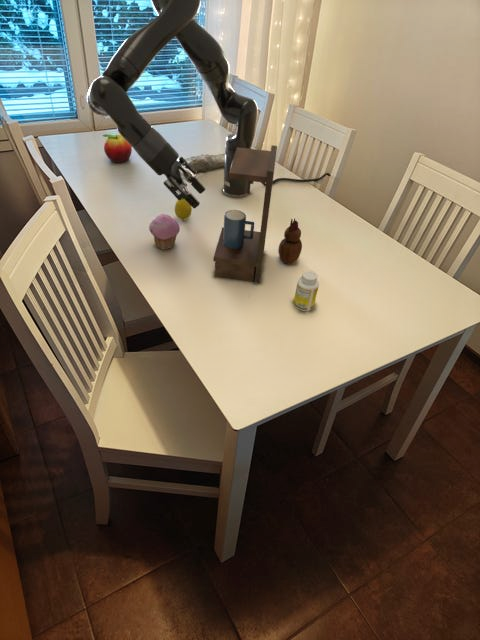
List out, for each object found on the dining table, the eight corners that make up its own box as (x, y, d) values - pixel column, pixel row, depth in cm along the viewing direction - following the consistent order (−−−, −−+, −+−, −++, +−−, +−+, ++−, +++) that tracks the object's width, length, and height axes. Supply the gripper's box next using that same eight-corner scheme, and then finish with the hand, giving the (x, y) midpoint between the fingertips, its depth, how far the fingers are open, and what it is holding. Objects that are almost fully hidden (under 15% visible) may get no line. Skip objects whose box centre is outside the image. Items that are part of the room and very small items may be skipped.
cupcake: (168, 235, 140) (167, 207, 133) (185, 247, 135) (185, 218, 129) (145, 245, 135) (142, 216, 128) (162, 257, 130) (160, 228, 124)
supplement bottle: (309, 297, 122) (316, 267, 115) (316, 310, 118) (324, 280, 111) (290, 299, 120) (296, 269, 113) (297, 313, 116) (303, 282, 109)
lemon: (188, 225, 145) (188, 203, 140) (172, 222, 146) (171, 200, 140) (193, 217, 149) (193, 195, 144) (178, 214, 150) (177, 192, 144)
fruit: (129, 166, 175) (127, 140, 168) (102, 164, 175) (98, 138, 168) (135, 155, 183) (132, 130, 176) (109, 153, 182) (105, 128, 176)
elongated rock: (257, 167, 185) (245, 159, 192) (258, 154, 182) (246, 147, 189) (180, 175, 170) (170, 166, 177) (180, 161, 167) (170, 153, 174)
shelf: (212, 277, 125) (216, 164, 103) (220, 246, 137) (226, 140, 115) (259, 283, 125) (273, 171, 102) (263, 252, 137) (277, 145, 114)
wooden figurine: (283, 268, 131) (291, 223, 121) (273, 257, 135) (280, 214, 124) (302, 263, 133) (311, 219, 123) (292, 253, 137) (300, 209, 127)
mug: (221, 247, 124) (222, 219, 118) (224, 236, 129) (225, 208, 122) (251, 251, 124) (254, 223, 118) (253, 240, 128) (256, 212, 122)
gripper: (158, 153, 104) (205, 203, 111) (172, 132, 114) (214, 179, 121) (138, 172, 107) (185, 219, 115) (153, 150, 118) (195, 194, 125)
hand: (200, 198), depth 118 cm, fingers open, 8 cm apart
